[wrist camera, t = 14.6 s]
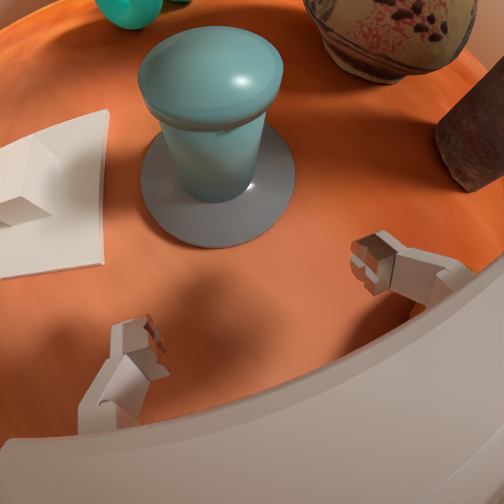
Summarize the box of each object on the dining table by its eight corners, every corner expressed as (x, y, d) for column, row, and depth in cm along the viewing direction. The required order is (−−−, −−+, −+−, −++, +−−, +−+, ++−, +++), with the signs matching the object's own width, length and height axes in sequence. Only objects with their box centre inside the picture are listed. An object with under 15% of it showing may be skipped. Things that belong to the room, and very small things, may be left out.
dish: (306, 237, 18) (309, 234, 17) (146, 259, 17) (143, 256, 16) (277, 110, 20) (279, 104, 19) (144, 125, 19) (141, 119, 18)
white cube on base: (104, 265, 17) (67, 250, 12) (-11, 281, 15) (-50, 274, 11) (110, 114, 19) (89, 75, 14) (4, 152, 17) (-24, 128, 13)
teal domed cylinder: (265, 202, 17) (298, 110, 8) (176, 213, 17) (132, 128, 8) (252, 129, 18) (268, 24, 9) (172, 139, 18) (143, 36, 9)
